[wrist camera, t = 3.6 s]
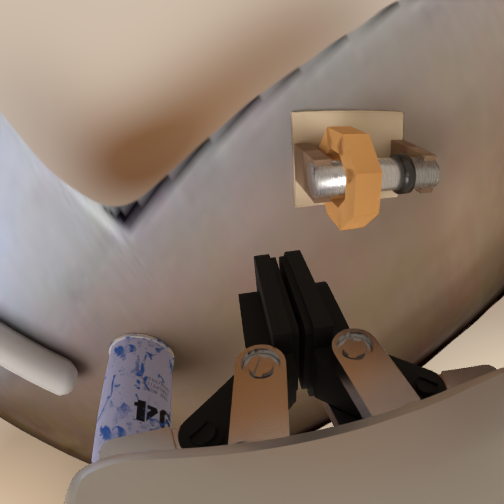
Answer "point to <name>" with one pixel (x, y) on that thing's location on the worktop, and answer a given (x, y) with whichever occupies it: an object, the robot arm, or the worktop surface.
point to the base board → (372, 122)
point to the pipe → (393, 177)
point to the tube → (36, 362)
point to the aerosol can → (134, 389)
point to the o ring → (353, 176)
